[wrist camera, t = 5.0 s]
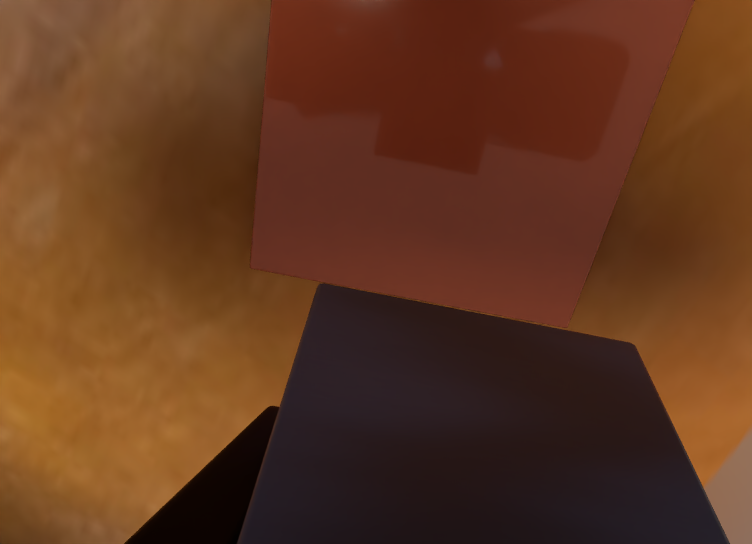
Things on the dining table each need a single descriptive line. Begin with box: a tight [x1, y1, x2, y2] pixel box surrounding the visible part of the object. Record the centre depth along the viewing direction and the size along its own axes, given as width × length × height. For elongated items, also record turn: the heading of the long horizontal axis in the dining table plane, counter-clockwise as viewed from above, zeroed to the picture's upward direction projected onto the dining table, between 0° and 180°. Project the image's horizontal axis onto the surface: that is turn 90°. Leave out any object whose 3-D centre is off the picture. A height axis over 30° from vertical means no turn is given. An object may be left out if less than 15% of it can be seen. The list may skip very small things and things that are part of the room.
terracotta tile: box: [250, 0, 695, 328], centre depth 17 cm, size 10×10×1 cm
